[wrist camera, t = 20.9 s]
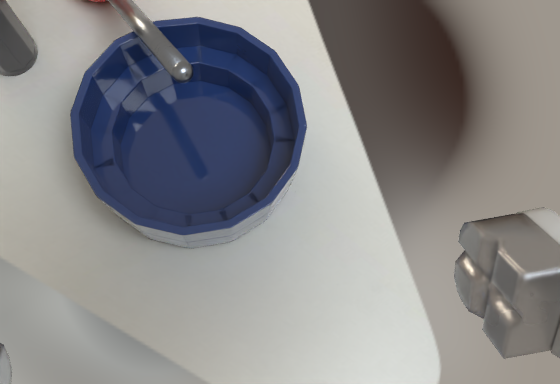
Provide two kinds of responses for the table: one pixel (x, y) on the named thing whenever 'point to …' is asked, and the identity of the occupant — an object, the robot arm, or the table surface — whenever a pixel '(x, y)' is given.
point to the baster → (154, 40)
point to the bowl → (190, 133)
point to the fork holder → (14, 43)
